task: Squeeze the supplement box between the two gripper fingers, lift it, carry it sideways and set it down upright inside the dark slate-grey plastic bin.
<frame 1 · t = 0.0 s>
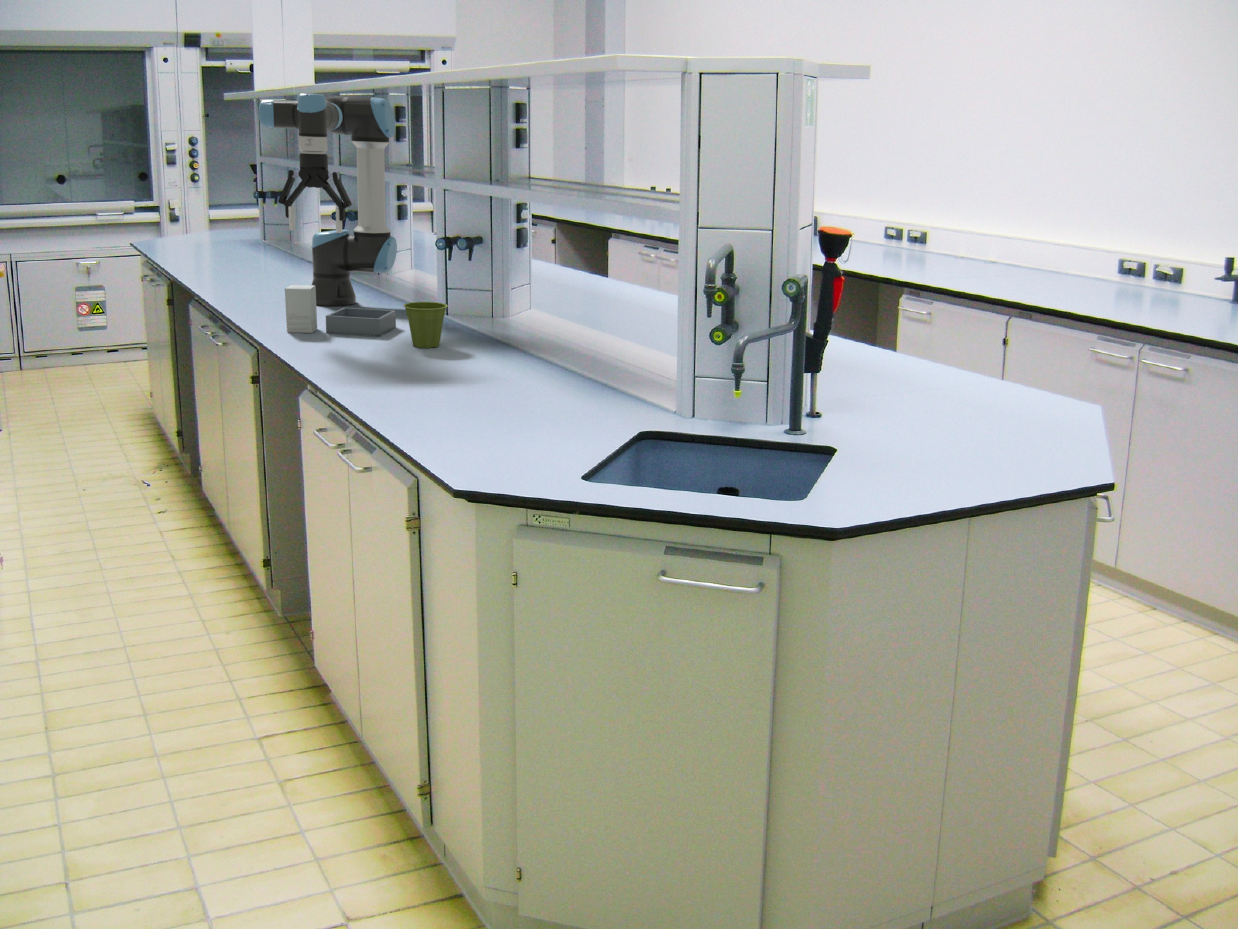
hand: (315, 231, 328), 28 cm above the countertop, fingers open, 13 cm apart
grey bin: (361, 330, 338), on the countertop
plant pot: (425, 346, 320), on the countertop
supplement box: (302, 331, 334), on the countertop
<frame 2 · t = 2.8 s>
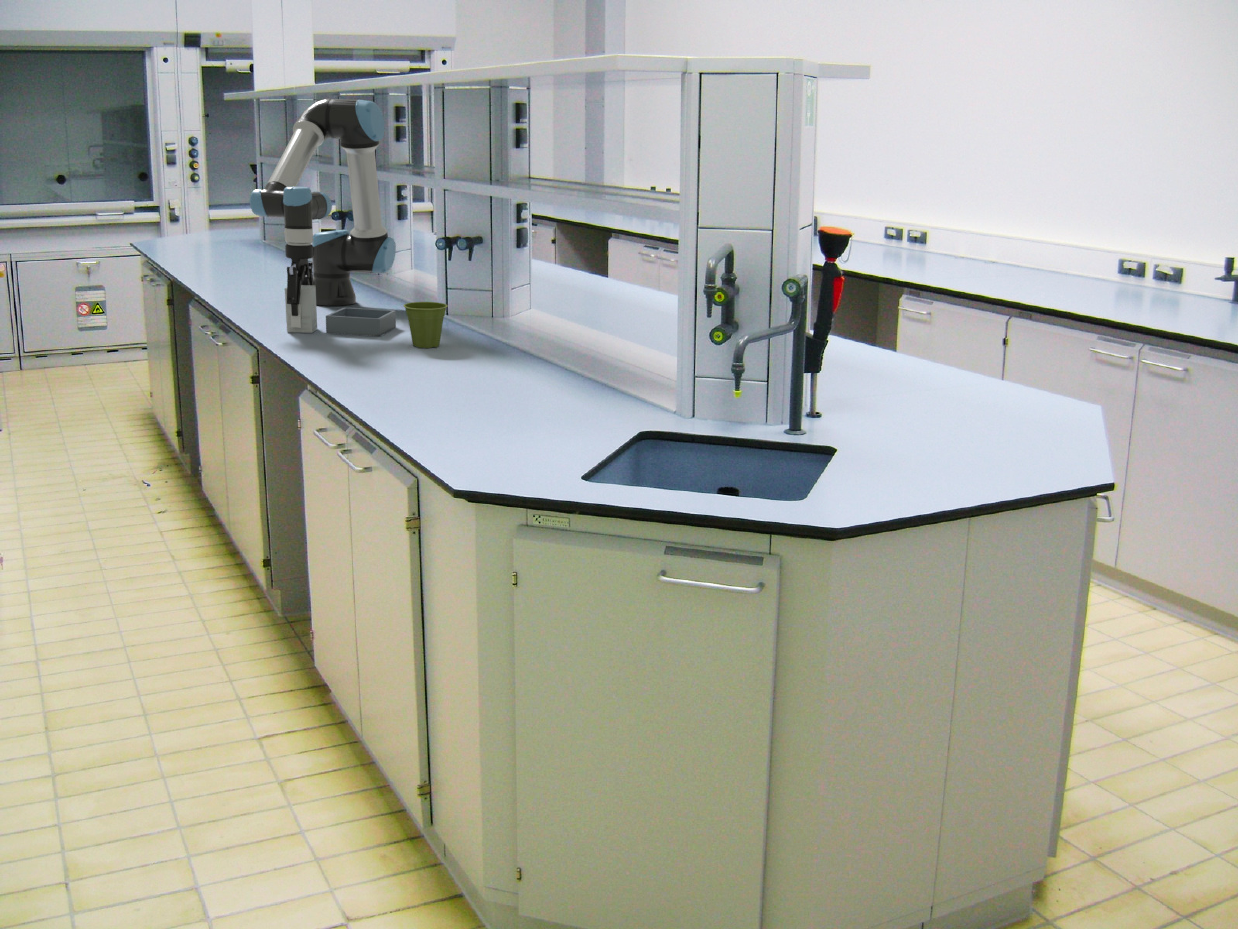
hand: (301, 324, 334), 2 cm above the countertop, fingers closed on supplement box, 8 cm apart
supplement box: (302, 331, 334), on the countertop, touching gripper
everything else where it was.
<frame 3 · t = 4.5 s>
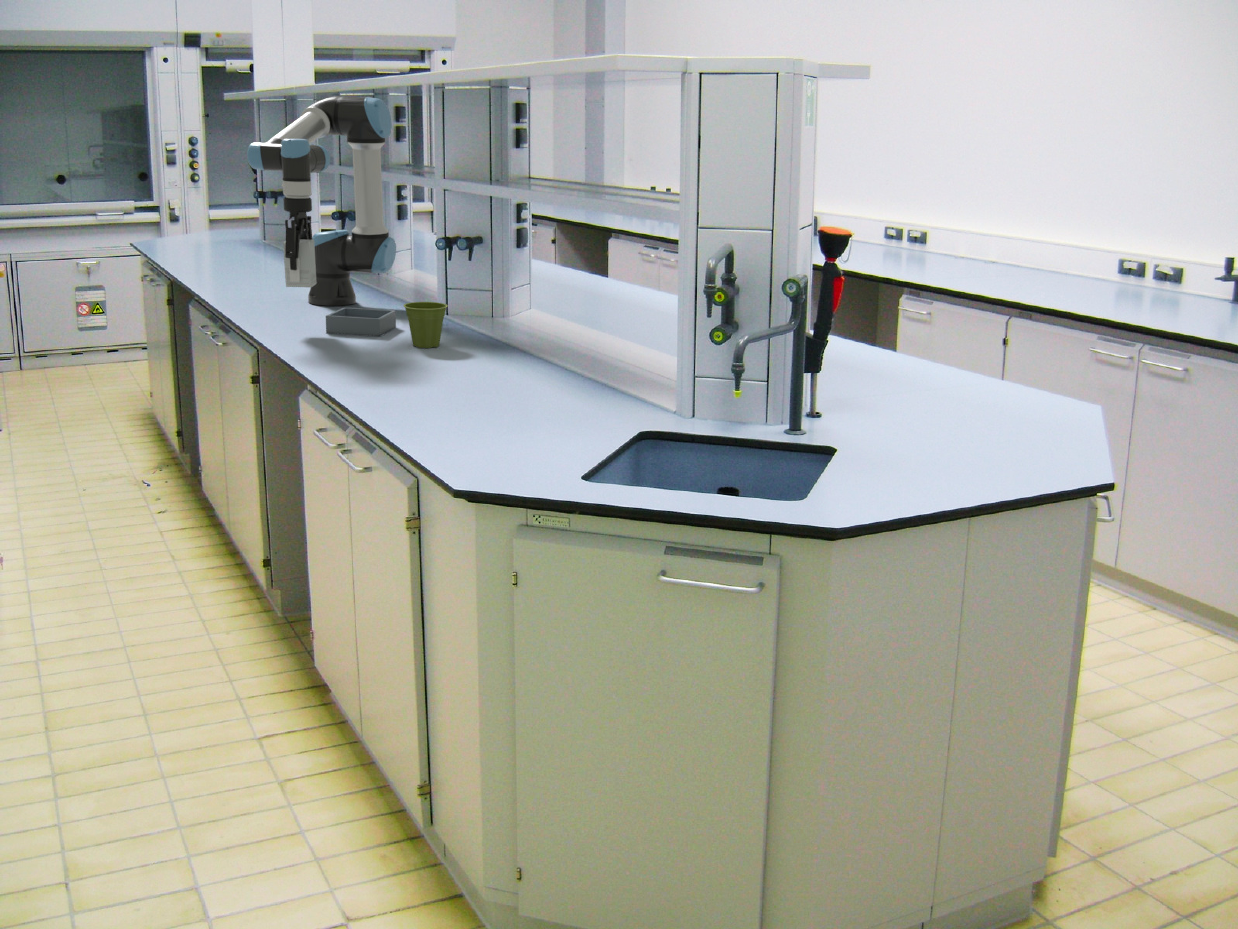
hand: (300, 279, 330), 15 cm above the countertop, fingers closed on supplement box, 8 cm apart
supplement box: (301, 286, 331), point 13 cm above the countertop, touching gripper
everything else where it was.
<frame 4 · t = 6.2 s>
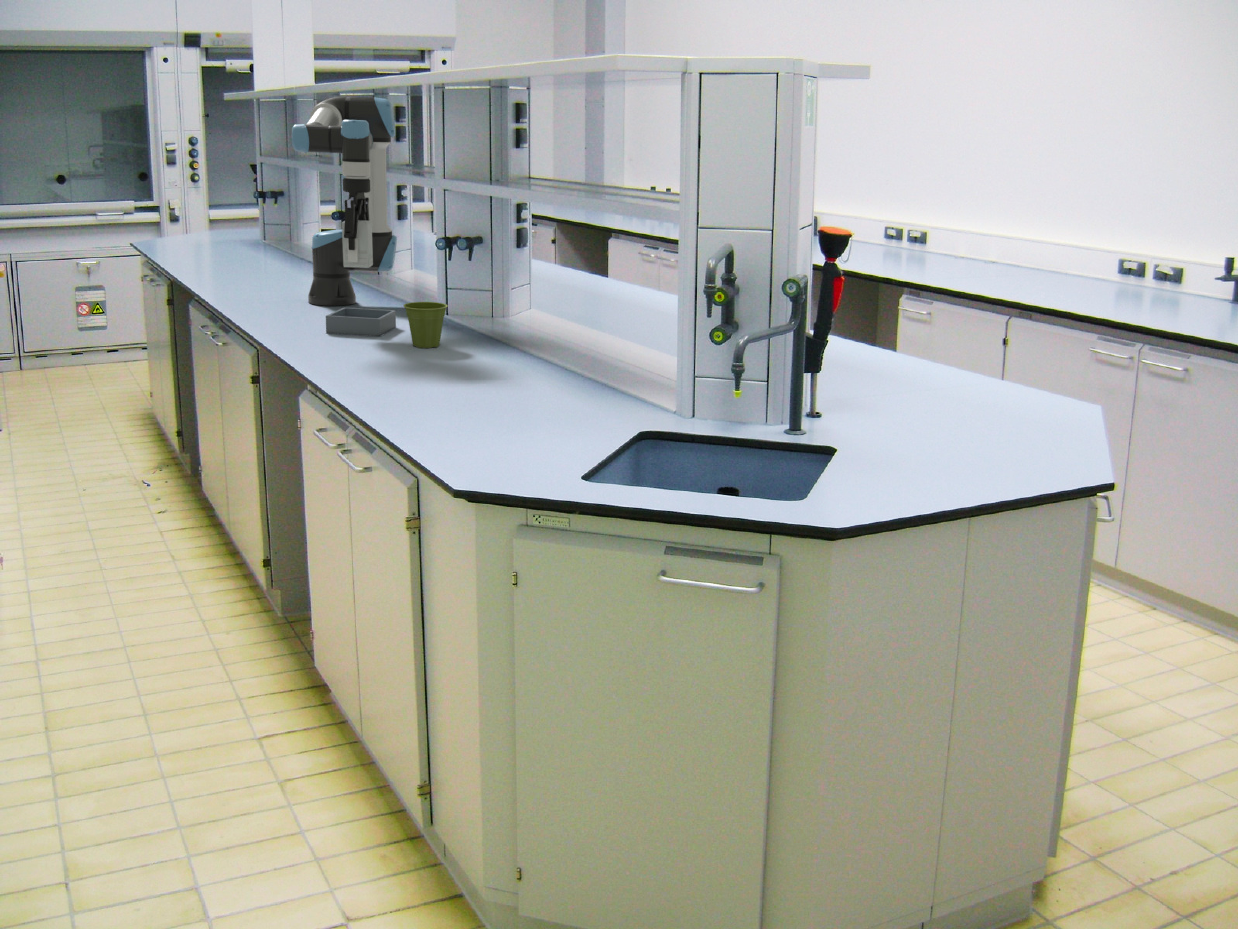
hand: (358, 259, 333), 20 cm above the countertop, fingers closed on supplement box, 8 cm apart
supplement box: (358, 266, 333), point 18 cm above the countertop, touching gripper
everything else where it was.
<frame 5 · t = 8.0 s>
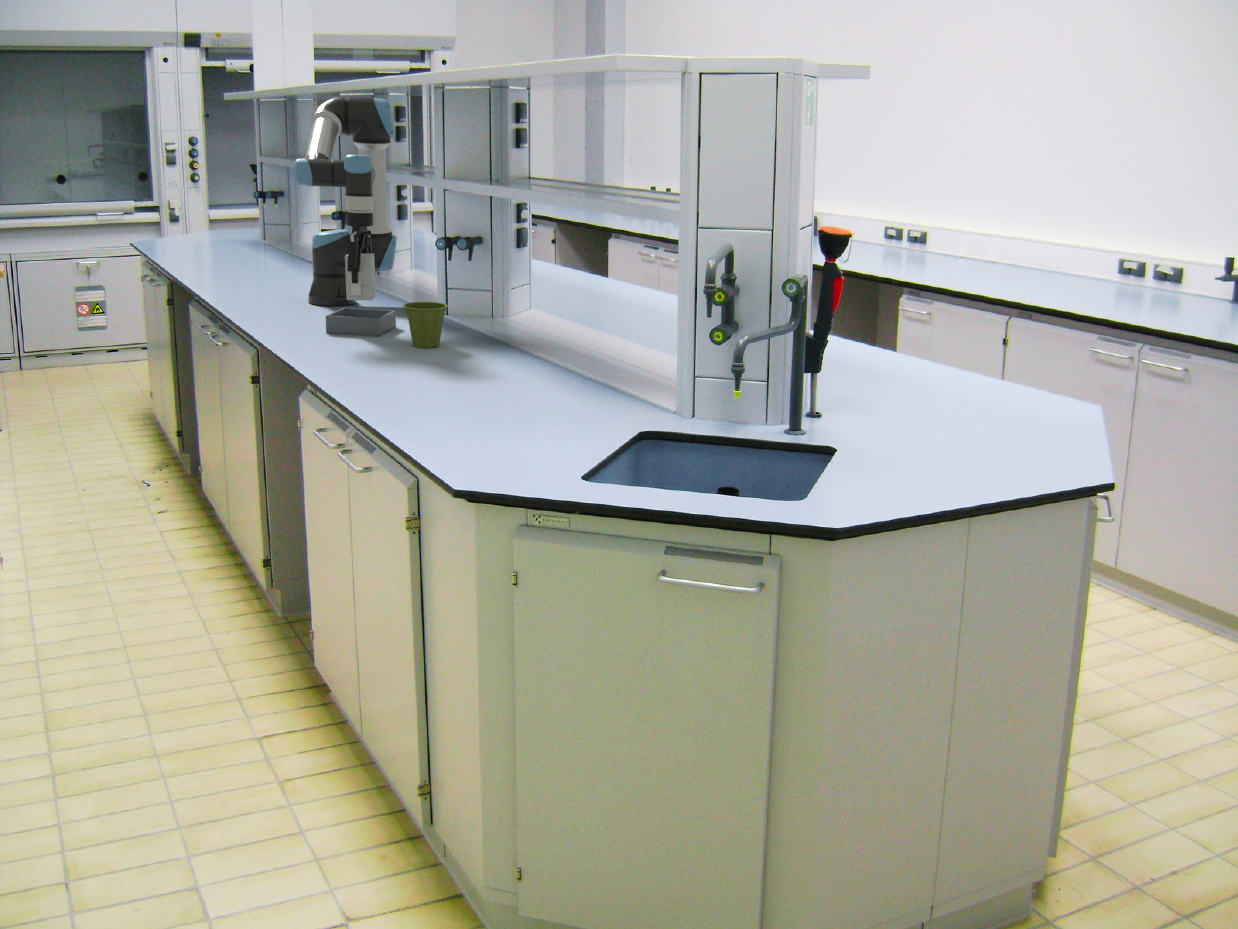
hand: (360, 292, 335), 11 cm above the countertop, fingers closed on supplement box, 8 cm apart
supplement box: (361, 299, 336), point 9 cm above the countertop, touching gripper
everything else where it was.
when the fingers open (5 cm above the countertop, at t = 9.5 s): supplement box drops 3 cm, resting on grey bin.
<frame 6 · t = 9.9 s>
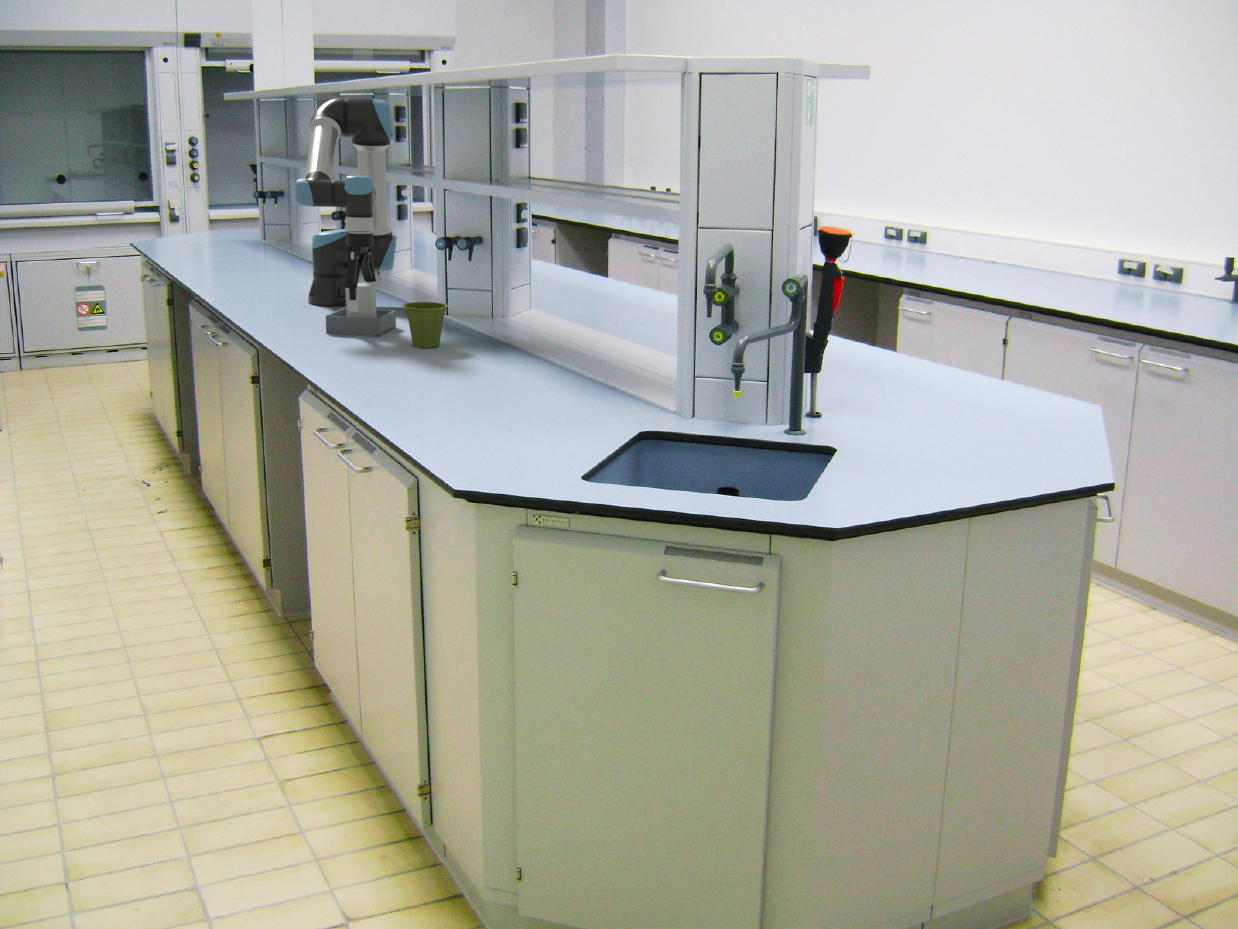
hand: (361, 307, 337), 7 cm above the countertop, fingers open, 12 cm apart
supplement box: (361, 328, 339), resting on grey bin
everything else where it was.
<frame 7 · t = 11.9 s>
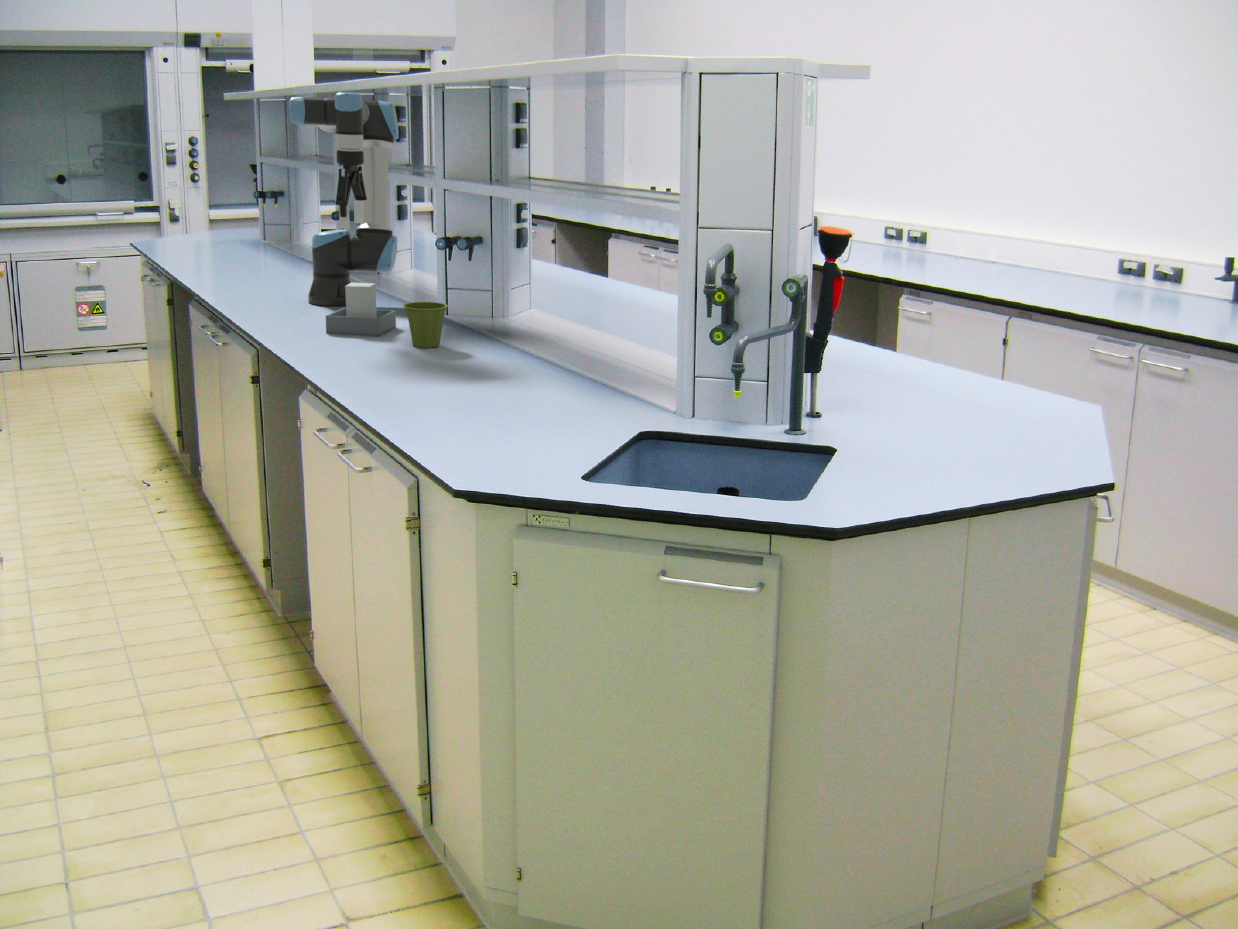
hand: (352, 225, 339), 29 cm above the countertop, fingers open, 13 cm apart
nothing on the countertop moved.
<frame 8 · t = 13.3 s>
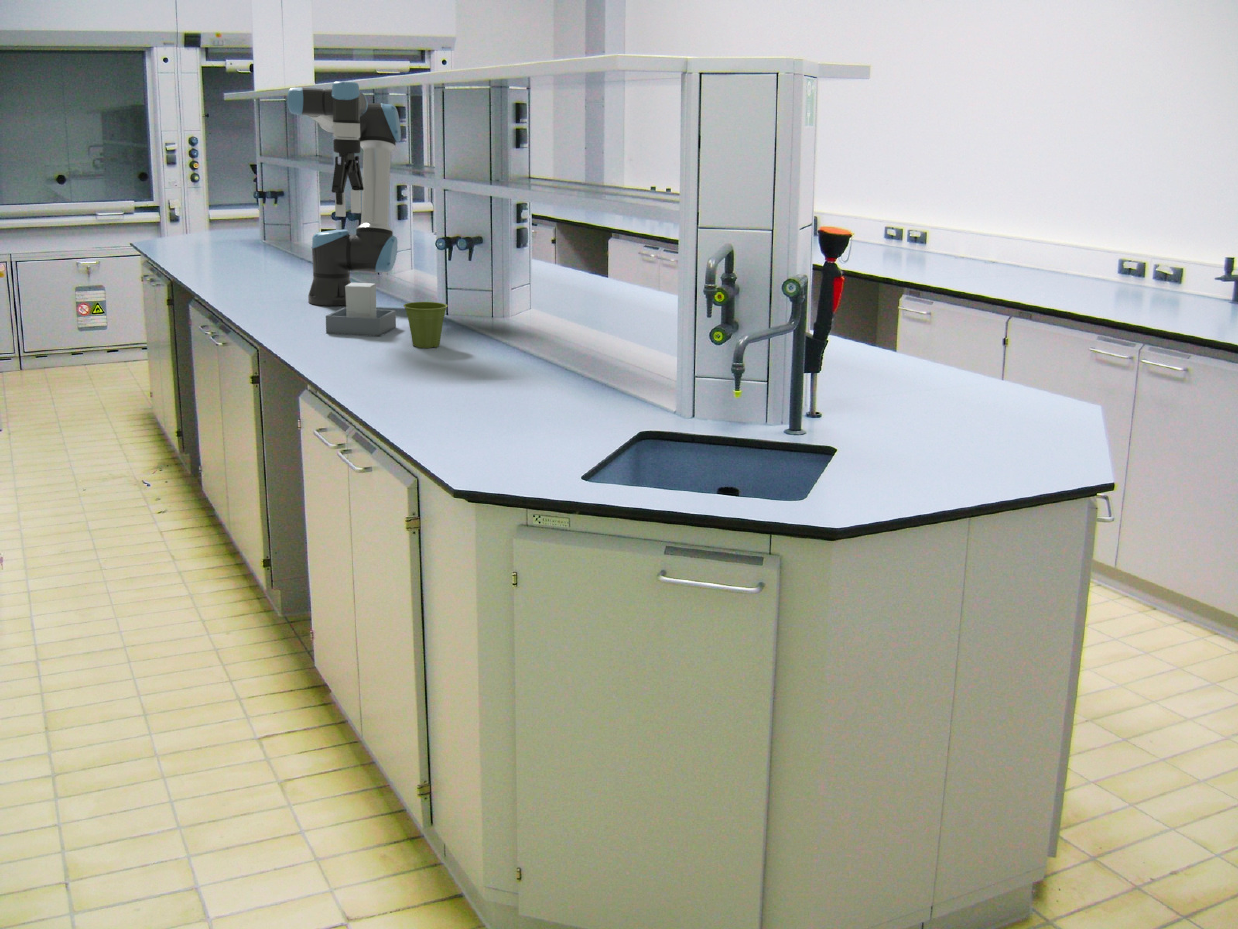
hand: (348, 214, 340), 32 cm above the countertop, fingers open, 13 cm apart
nothing on the countertop moved.
at the end: supplement box inside the target area on the grey bin (0.4 cm from its centre), point 0.4 cm above the grey bin's base; supplement box tilted 0°; the gripper is holding nothing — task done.
